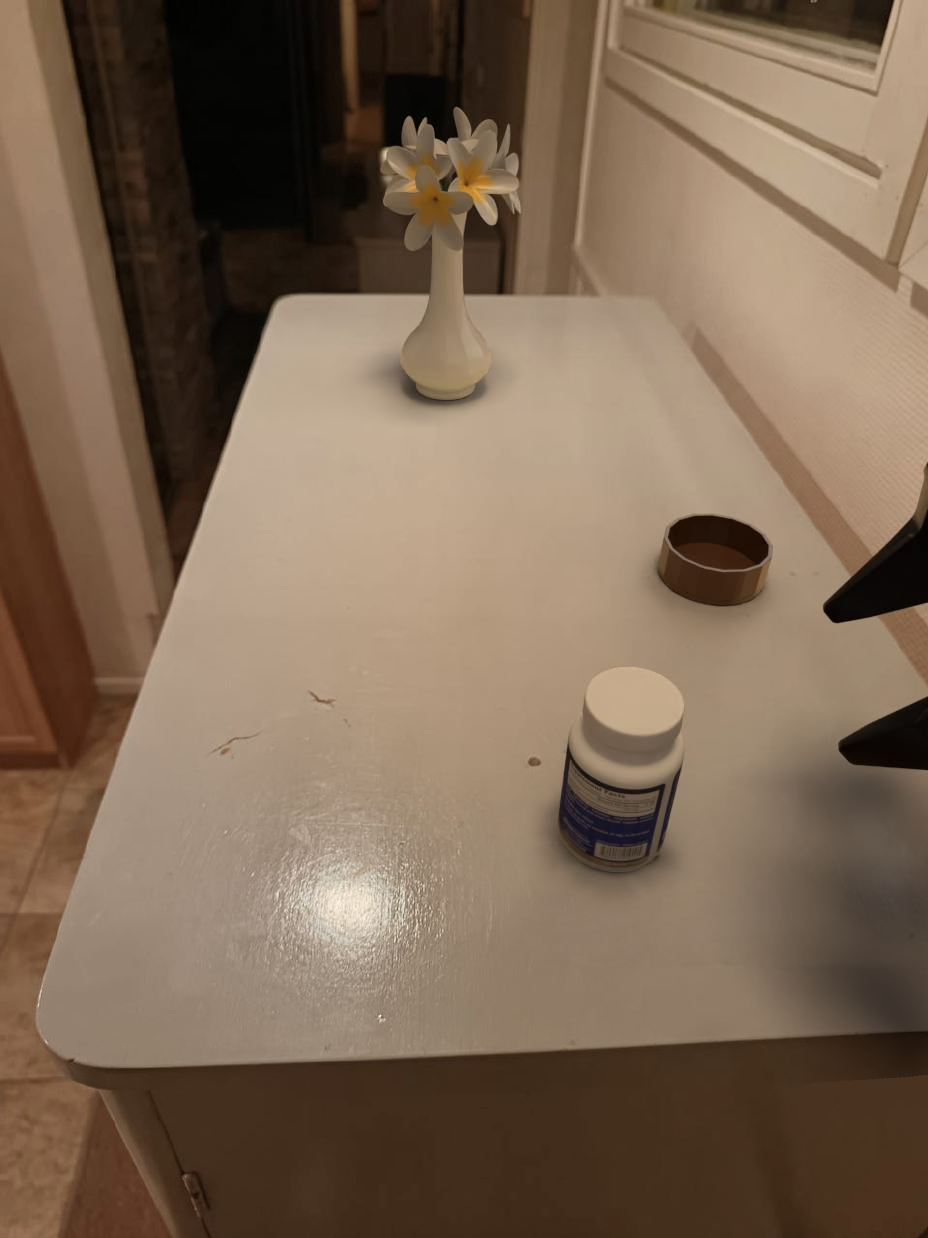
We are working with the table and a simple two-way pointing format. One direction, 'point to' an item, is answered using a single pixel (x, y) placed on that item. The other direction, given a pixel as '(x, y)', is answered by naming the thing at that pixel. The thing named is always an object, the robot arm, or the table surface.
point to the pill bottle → (622, 769)
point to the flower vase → (447, 242)
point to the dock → (714, 559)
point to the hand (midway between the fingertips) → (834, 678)
